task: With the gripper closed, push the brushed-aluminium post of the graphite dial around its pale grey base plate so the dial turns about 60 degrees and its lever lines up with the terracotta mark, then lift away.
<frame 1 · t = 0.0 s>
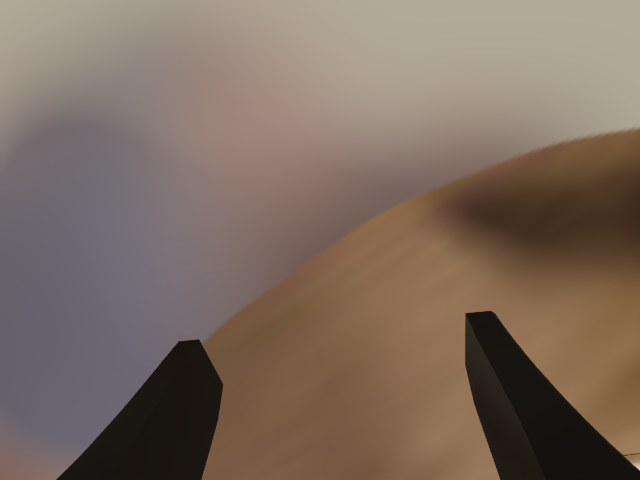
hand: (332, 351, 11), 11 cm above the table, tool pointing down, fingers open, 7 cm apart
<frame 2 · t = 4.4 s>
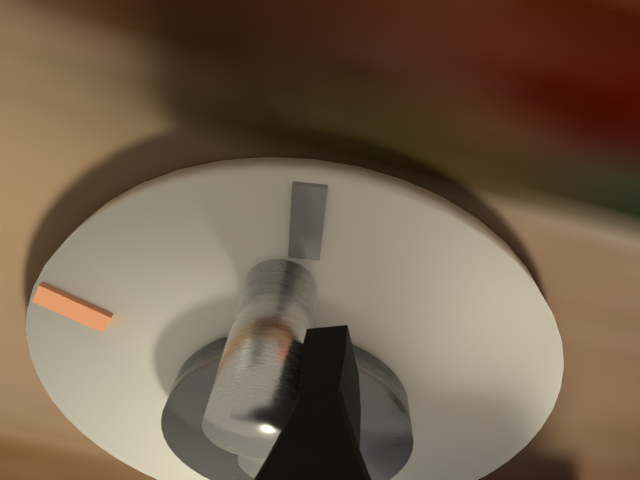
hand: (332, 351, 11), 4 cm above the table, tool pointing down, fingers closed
dial: (281, 447, 15), point 4 cm above the table, hinge at 5.5°, touching gripper
dial plate: (294, 379, 19), on the table
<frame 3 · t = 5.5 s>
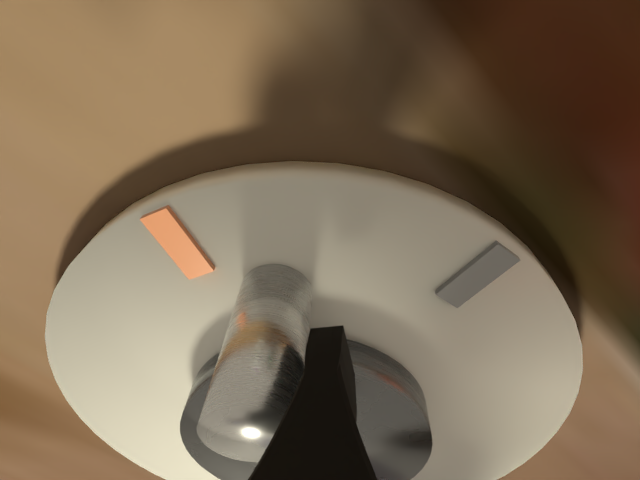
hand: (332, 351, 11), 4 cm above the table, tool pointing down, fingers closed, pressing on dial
dial: (295, 450, 15), point 4 cm above the table, hinge at 43.0°, touching gripper
dial plate: (310, 382, 19), on the table
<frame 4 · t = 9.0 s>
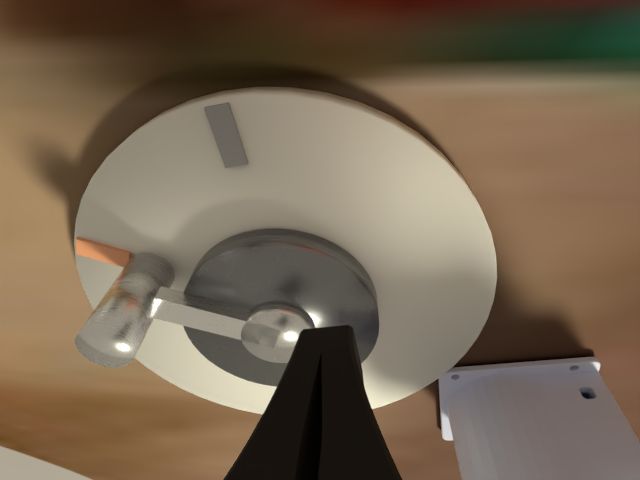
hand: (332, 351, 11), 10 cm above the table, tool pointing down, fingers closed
dial: (244, 334, 20), point 4 cm above the table, hinge at 61.1°
dial plate: (286, 287, 23), on the table
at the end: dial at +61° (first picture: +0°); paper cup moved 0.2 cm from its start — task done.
